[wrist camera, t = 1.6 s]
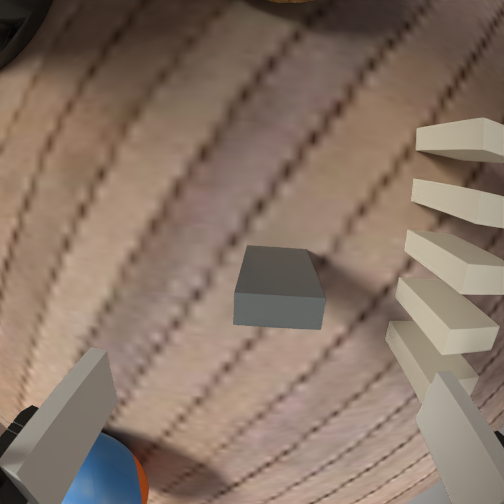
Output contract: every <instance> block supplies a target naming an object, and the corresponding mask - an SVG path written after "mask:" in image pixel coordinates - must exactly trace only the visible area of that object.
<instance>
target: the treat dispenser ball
mask: <svg viewBox="0 0 504 504" xmlns="http://www.w3.org/2000/svg"><path fill="white" fill-rule="evenodd" d="M148 493H149V486H148V482H147V477H146V474H145V472H144V469H143V467H142V466H141V464H140V462H139V461H138V459H137V458H136V457H135V456H134V454H133V453H132V452H131V451H130V450H129V449H128V448H127V447H126V446H124V445H123V444H122V443H121V442H119V441H118V440H116V439H114V438H113V437H111V436H109V435H107V434H104V433H102V432H100V434H99V435H98V437H97V439H96V441H95V442H94V444H93V446H92V448H91V450H90V451H89V453H88V455H87V457H86V459H85V460H84V462H83V464H82V466H81V468H80V470H79V471H78V473H77V475H76V477H75V479H74V481H73V482H72V484H71V486H70V488H69V490H68V492H67V494H66V496H65V497H64V499H63V501H62V503H61V504H146V503H147V500H148Z"/></svg>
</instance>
